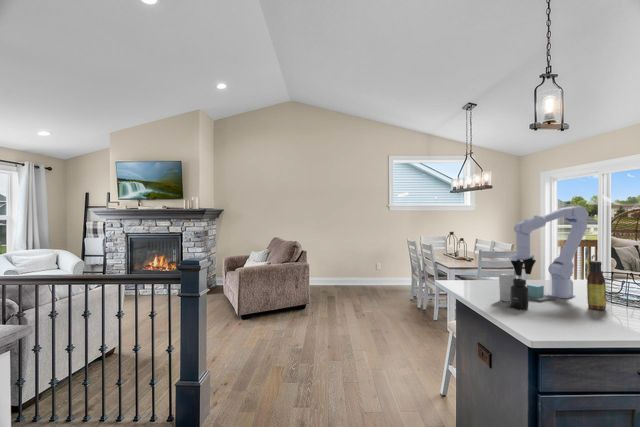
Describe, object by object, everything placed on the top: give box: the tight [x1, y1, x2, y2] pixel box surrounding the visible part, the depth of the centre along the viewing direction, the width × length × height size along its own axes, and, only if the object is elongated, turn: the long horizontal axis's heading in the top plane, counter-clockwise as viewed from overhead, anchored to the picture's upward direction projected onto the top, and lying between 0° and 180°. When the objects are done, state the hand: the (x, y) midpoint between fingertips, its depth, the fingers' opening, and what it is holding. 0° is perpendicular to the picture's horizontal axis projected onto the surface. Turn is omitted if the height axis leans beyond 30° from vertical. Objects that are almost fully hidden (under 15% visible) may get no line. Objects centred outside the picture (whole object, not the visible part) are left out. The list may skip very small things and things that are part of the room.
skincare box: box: [498, 273, 517, 302], centre depth 168 cm, size 6×4×12 cm
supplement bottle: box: [509, 278, 529, 311], centre depth 156 cm, size 7×7×12 cm
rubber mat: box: [528, 294, 556, 303], centre depth 173 cm, size 12×12×1 cm
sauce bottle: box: [586, 260, 607, 311], centre depth 154 cm, size 6×6×20 cm
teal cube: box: [526, 283, 545, 298], centre depth 173 cm, size 5×5×5 cm
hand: (523, 274), depth 177 cm, fingers open, 7 cm apart
